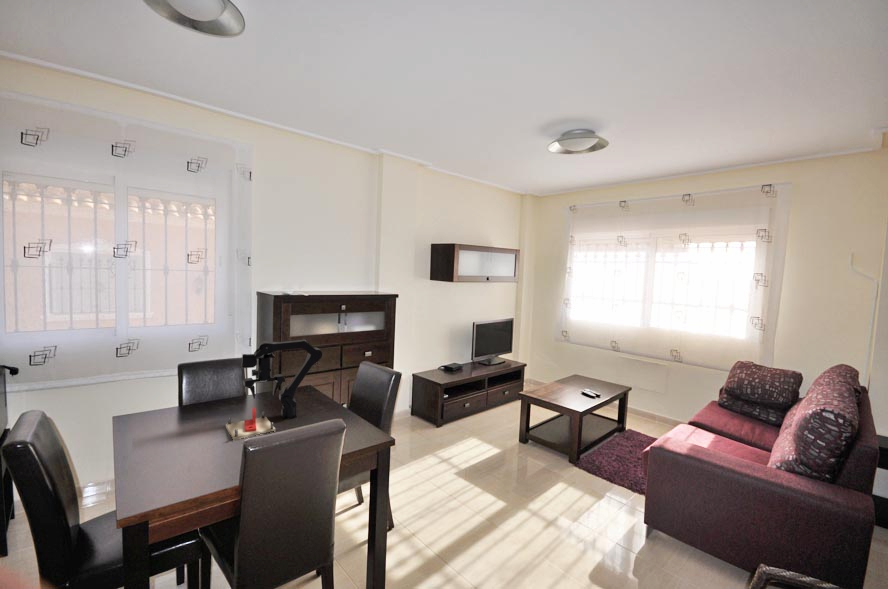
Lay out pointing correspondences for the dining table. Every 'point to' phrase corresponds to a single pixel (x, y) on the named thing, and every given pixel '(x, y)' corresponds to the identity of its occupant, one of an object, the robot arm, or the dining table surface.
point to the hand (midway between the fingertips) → (263, 396)
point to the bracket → (251, 422)
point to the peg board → (239, 431)
